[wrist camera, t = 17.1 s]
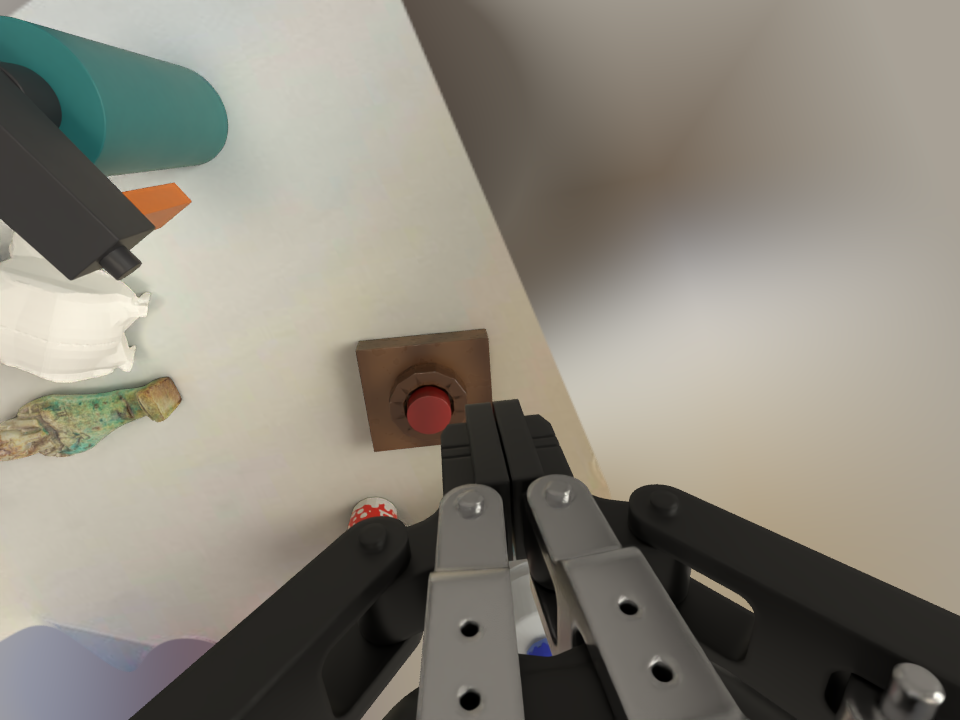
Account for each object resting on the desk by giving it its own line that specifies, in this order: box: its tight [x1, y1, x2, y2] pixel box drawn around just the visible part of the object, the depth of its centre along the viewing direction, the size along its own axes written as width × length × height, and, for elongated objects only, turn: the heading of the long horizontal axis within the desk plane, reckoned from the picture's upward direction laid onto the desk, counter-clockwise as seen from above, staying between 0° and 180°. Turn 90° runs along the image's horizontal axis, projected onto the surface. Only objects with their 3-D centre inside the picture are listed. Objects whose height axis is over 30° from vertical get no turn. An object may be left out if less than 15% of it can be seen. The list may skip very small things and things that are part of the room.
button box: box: [356, 329, 492, 452], centre depth 44 cm, size 11×10×4 cm
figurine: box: [0, 377, 181, 461], centre depth 42 cm, size 6×15×4 cm, turn 97°
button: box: [407, 386, 451, 434], centre depth 41 cm, size 4×4×2 cm
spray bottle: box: [0, 16, 228, 281], centre depth 27 cm, size 11×6×20 cm, turn 35°
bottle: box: [509, 547, 552, 657], centre depth 42 cm, size 7×7×20 cm
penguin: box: [0, 231, 151, 383], centre depth 36 cm, size 9×8×15 cm
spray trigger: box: [122, 183, 192, 230], centre depth 24 cm, size 1×2×5 cm, turn 125°
